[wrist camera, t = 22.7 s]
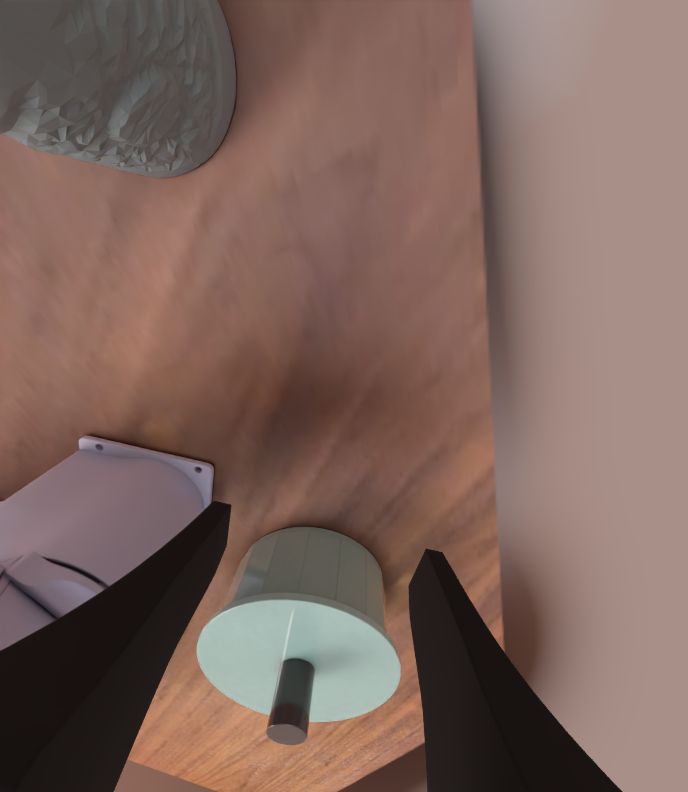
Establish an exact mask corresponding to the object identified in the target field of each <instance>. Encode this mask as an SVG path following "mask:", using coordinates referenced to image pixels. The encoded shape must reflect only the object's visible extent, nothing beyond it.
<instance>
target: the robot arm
mask: <svg viewBox="0 0 688 792" xmlns="http://www.w3.org/2000/svg"><path fill="white" fill-rule="evenodd" d="M102 446H103V447H102ZM198 467H200V468H201V470H200V469H198ZM213 477H214V468H213V466H212V465H211V464H209V463H206V462H201V461H197V460H193V459H188V458H184V457H179V456H175V455H171V454H166V453H162V452H158V451H153V450H149V449H144V448H140V447H136V446H131V445H127V444H123V443H118V442H114V441H110V440H105V439H101V438H96V437H92V436H83V437H82V438H80V439H79V450H78V451H76V452H75V453H74V454H72V455H71V456H69V457H68V458H66V459H65V460H63V461H62V462H60V463H59V464H57V465H56V466H54V467H53V468H51V469H50V470H48V471H47V472H45V473H44V474H43V475H41V476H40V477H38V478H37V479H35V480H34V481H32V482H31V483H29V484H28V485H26V486H25V487H23V488H22V489H20V490H19V491H17V492H16V493H15V494H13V495H12V496H10V497H9V498H7V499H6V500H4V501H3V502H1V503H0V792H113V791H114V790H115V787H116V785H117V782H118V780H119V777H120V775H121V772H122V770H123V768H124V765H125V763H126V760H127V758H128V756H129V753H130V751H131V749H132V746H133V744H134V741H135V739H136V737H137V734H138V732H139V730H140V727H141V725H142V723H143V720H144V718H145V716H146V713H147V711H148V709H149V706H150V704H151V702H152V699H153V697H154V695H155V692H156V690H157V688H158V686H159V683H160V681H161V679H162V677H163V674H164V672H165V670H166V668H167V665H168V663H169V661H170V659H171V657H172V655H173V653H174V650H175V648H176V646H177V644H178V642H179V641H180V639H181V637H182V635H183V633H184V631H185V629H186V628H187V626H188V624H189V622H190V620H191V618H192V616H193V614H194V613H195V611H196V609H197V607H198V605H199V603H200V601H201V600H202V598H203V596H204V594H205V592H206V590H207V588H208V586H209V584H210V583H211V581H212V579H213V577H214V575H215V573H216V570H217V568H218V565H219V563H220V561H221V558H222V556H223V553H224V551H225V548H226V546H227V538H228V529H229V521H230V513H231V505H230V504H225V503H221V502H216V501H214V502H212V503H211V500H212V488H213ZM409 610H410V622H411V630H412V637H413V644H414V651H415V657H416V664H417V671H418V678H419V685H420V691H421V700H422V708H423V721H424V736H425V750H426V771H427V789H428V792H622V791H621V790H620V789H619V788H618V787H617V786H616V785H615V784H614V783H613V782H612V781H611V780H610V778H609V777H607V775H606V774H605V773H604V772H603V771H602V770H601V769H600V768H599V767H598V766H597V764H596V763H595V762H594V761H593V760H592V759H591V758H590V757H589V756H588V755H587V754H586V753H585V751H584V750H583V749H582V748H581V747H580V746H579V745H578V744H577V743H576V741H575V740H574V739H573V738H572V737H571V736H570V735H569V734H568V732H567V731H566V730H565V729H564V728H563V727H562V725H561V724H560V723H559V722H558V721H557V719H556V718H555V717H554V716H553V715H552V713H550V711H549V710H548V709H547V708H546V706H545V705H544V704H543V703H542V702H541V701H540V699H539V698H538V697H537V695H536V694H535V693H534V692H533V690H532V689H531V688H530V686H529V685H528V684H527V682H526V681H525V680H524V679H523V677H522V676H521V675H520V673H519V672H518V671H517V669H516V668H515V667H514V665H513V664H512V663H511V661H510V660H509V658H508V657H507V656H506V654H505V653H504V651H503V650H502V649H501V647H500V646H499V644H498V643H497V641H496V640H495V638H494V637H493V635H492V634H491V632H490V631H489V629H488V628H487V626H486V625H485V623H484V622H483V620H482V618H481V617H480V615H479V614H478V612H477V610H476V609H475V607H474V605H473V604H472V602H471V601H470V599H469V597H468V596H467V594H466V592H465V591H464V589H463V587H462V585H461V584H460V582H459V580H458V579H457V577H456V575H455V573H454V572H453V570H452V568H451V566H450V565H449V563H448V561H447V560H446V558H445V556H444V554H443V553H442V552H439V551H434V550H430V549H426V550H425V552H424V554H423V556H422V559H421V561H420V563H419V565H418V567H417V569H416V571H415V573H414V576H413V578H412V580H411V582H410V584H409Z"/></svg>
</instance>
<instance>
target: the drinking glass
mask: <svg viewBox="0 0 688 792" xmlns="http://www.w3.org/2000/svg"><path fill="white" fill-rule="evenodd" d="M235 98H236V68H235V58H234V51H233V47H232V42H231V37H230V33H229V29H228V25H227V22H226V19H225V17H224V14H223V12H222V9H221V7H220V4H219V2H218V0H0V134H1V135H6V136H9V137H10V138H12V139H15V140H16V141H18V142H20V143H22V144H24V145H27V146H29V147H31V148H33V149H35V150H39V151H43V152H47V153H51V154H55V155H64V156H68V157H71V158H74V159H77V160H80V161H84V162H93V163H96V164H100V165H103V166H107V167H111V168H115V169H118V170H122V171H126V172H131V173H135V174H139V175H143V176H148V177H156V178H165V177H174V176H178V175H181V174H184V173H187V172H189V171H191V170H192V169H194V168H197V167H199V165H200V164H201V163H205V162H206V161H207V159H209V158H210V157H211V156H212V155H213V154H214V153H215V151H216V150H217V149H218V147H219V146H220V144H221V142H222V140H223V139H224V137H225V135H226V132H227V129H228V127H229V124H230V121H231V117H232V114H233V110H234V104H235Z"/></svg>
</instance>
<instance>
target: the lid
mask: <svg viewBox="0 0 688 792" xmlns="http://www.w3.org/2000/svg"><path fill="white" fill-rule="evenodd" d="M197 658H198V662H199V665H200V667H201V669H202V671H203V673H204V674H205V676H206V677H207V679H208V680H209V681H210V682H211V683H212V684H213V685H214V686H215V687H216V688H217V689H218V690H219V691H220V692H222V693H223V694H225V695H226V696H227V697H229V698H230V699H232V700H234V701H235V702H237V703H239V704H241V705H243V706H245V707H247V708H249V709H252V710H254V711H257V712H260V713H263V714H266V715H269V720H268V725H267V730H266V733H267V735H268V737H269V738H270V739H272V740H273V741H275V742H277V743H280V744H285V745H297V744H301V743H303V742H304V741H305V740H306V739H307V735H308V727H309V722H330V721H339V720H344V719H349V718H353V717H357V716H360V715H363V714H365V713H368V712H370V711H372V710H374V709H376V708H377V707H379V706H380V705H382V704H383V703H385V702H386V701H387V700H388V699H389V698H390V697H391V696H392V695H393V693H394V692H395V690H396V689H397V686H398V684H399V681H400V676H401V663H400V656H399V653H398V649H397V647H396V645H395V643H394V641H393V640H392V639H391V637H390V636H389V634H388V633H387V632H386V631H385V630H384V629H383V628H382V627H381V626H380V625H379V624H378V623H376V622H375V621H374V620H373V619H371V618H370V617H368V616H367V615H365V614H363V613H362V612H360V611H358V610H356V609H354V608H352V607H350V606H348V605H345V604H343V603H340V602H337V601H334V600H331V599H327V598H323V597H320V596H314V595H309V594H302V593H289V592H286V593H266V594H258V595H253V596H248V597H245V598H242V599H239V600H236V601H234V602H232V603H229V604H227V605H225V606H224V607H222V608H221V609H219V610H218V611H216V612H215V613H214V614H213V615H212V616H211V617H210V618H209V619H208V621H207V622H206V623H205V625H204V627H203V629H202V631H201V633H200V636H199V638H198V642H197Z"/></svg>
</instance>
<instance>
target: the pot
mask: <svg viewBox="0 0 688 792" xmlns="http://www.w3.org/2000/svg"><path fill="white" fill-rule="evenodd" d="M286 592H289V593H302V594H309V595H314V596H320V597H323V598H327V599H331V600H334V601H337V602H340V603H343V604H345V605H348V606H350V607H352V608H354V609H356V610H358V611H360V612H362V613H363V614H365V615H367V616H368V617H370V618H371V619H373V620H374V621H375V622H376V623H378V624H379V625H380V626H381V627H382V628H383V629H384V630H385V631H386V632H387V621H386V603H385V590H384V584H383V575H382V571H381V569H380V567H379V564H378V563H377V561H376V560H375V558H374V557H373V556H372V554H371V553H370V552H369V551H368V550H367V549H366V548H364V547H363V546H362V545H361V544H359V543H358V542H356V541H355V540H353V539H351V538H349V537H347V536H345V535H343V534H340V533H337V532H334V531H331V530H327V529H322V528H316V527H292V528H286V529H281V530H277V531H275V532H272V533H269V534H267V535H266V536H264V537H262V538H260V539H259V540H258V541H256V542H255V543H254V544H253V545H252V546H251V547H250V548H249V549H248V551H247V552H246V554H245V556H244V558H243V559H242V560H241V562H240V564H239V567H238V569H237V571H236V574H235V576H234V579H233V581H232V584H231V586H230V589H229V591H228V593H227V596H226V598H225V601H224V603H223V606H222V607H224V606H225V605H227V604H229V603H232V602H234V601H236V600H239V599H242V598H245V597H248V596H253V595H258V594H266V593H286Z"/></svg>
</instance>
